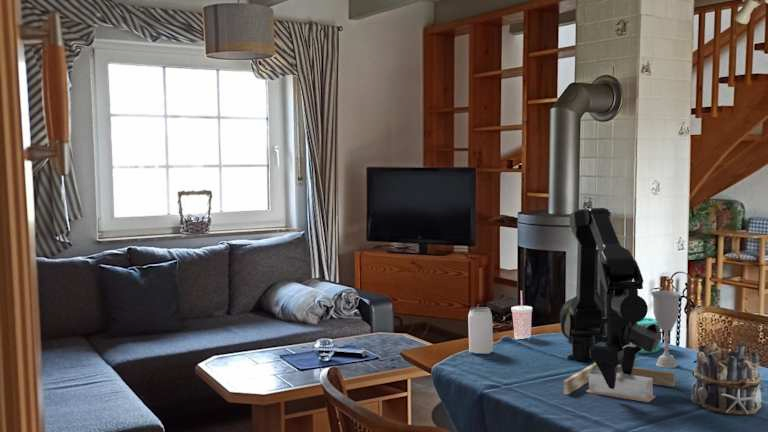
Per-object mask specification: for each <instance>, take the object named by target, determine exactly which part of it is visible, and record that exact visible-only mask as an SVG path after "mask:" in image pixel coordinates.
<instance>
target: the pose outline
mask: <svg viewBox="0 0 768 432" xmlns="http://www.w3.org/2000/svg"><path fill="white" fill-rule="evenodd" d="M585 393H590V394H596V395H601V396H608V397H614V398H620V399H626V400H633V401H639V402H644V403H649V402H651V401H652V400H654V399H655V398H656V396H657V395H654V394H653V396H652V397H651V398H650V399H648V400H641V399H635V398H629V397H623V396H617V395H611V394H605V393H599V392H593V391H589V388H588V389H587V390H586V391H585Z"/></svg>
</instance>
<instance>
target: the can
mask: <svg viewBox="0 0 768 432" xmlns="http://www.w3.org/2000/svg"><path fill="white" fill-rule="evenodd" d="M467 318H468V319H467V321H468V322H467V323H468V325H467V326H468V352H469V353H470V352H474V353H491V352H492V353H493V352H494V340H493V339H494V337H493V334H494V333H493V332H494V331H493V315H492V311H491V308H489V307H485V306H484V307H483V306H477V307H476V306H475V307H470V308H469V312H468V315H467ZM492 353H491V354H492Z"/></svg>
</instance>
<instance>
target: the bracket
mask: <svg viewBox="0 0 768 432" xmlns="http://www.w3.org/2000/svg"><path fill="white" fill-rule="evenodd" d="M620 365H621V364H619V365H618V367H617V375H616V383H615V388H614V389H610V388H609V387H608V385H607V383H606V381H605V379H604V377H603V375H602V373H601V371H600V369H599V368H597V369H595V370H593V371H592V372H590V373H589V382H588V389H589V391H593V392H599V393H605V394H611V395H617V396H623V397H629V398H635V399H641V400H648V399H650V398H651V397H652V396H653V395H654V394H653V393H654V392H653V390H654V389H653V387H654V386H653V385H654V384H653V378H649V377H643V376H636V375H629V374H622V373H620Z"/></svg>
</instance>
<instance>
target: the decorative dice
mask: <svg viewBox="0 0 768 432" xmlns="http://www.w3.org/2000/svg"><path fill="white" fill-rule="evenodd" d="M637 324H638V325H640V326H646V328H647V327H648V326H649V325H651V324H656V325H658V323H657V321H656V318H653V317H645V318H644V319H643V320H641V321H639V322H637ZM658 326H659V325H658ZM659 331H660V327H659ZM660 332H661V331H660ZM660 349H661V340H659V342H658V345H657V348H656V349H654V350H653V351H652V352H647V351H645V350H643V349H642V350H641V351H640V352H638V353H637V354H653V353H657V352H659V351H660Z"/></svg>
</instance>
